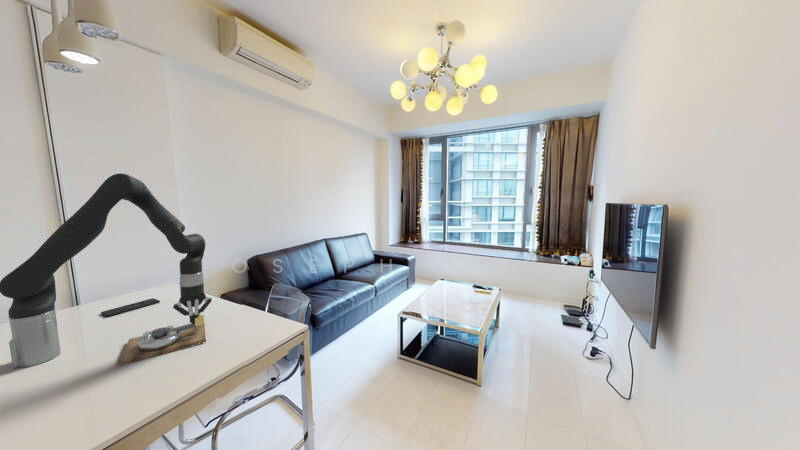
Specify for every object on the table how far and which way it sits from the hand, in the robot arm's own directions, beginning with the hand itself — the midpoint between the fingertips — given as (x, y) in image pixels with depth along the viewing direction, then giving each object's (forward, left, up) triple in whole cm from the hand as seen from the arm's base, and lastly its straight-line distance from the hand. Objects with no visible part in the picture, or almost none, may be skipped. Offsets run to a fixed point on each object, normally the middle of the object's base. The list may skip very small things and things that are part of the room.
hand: (194, 322), depth 107 cm
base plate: (-9, +1, -6) cm, 11 cm away
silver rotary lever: (-7, 0, -4) cm, 8 cm away
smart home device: (-26, +54, -7) cm, 60 cm away
